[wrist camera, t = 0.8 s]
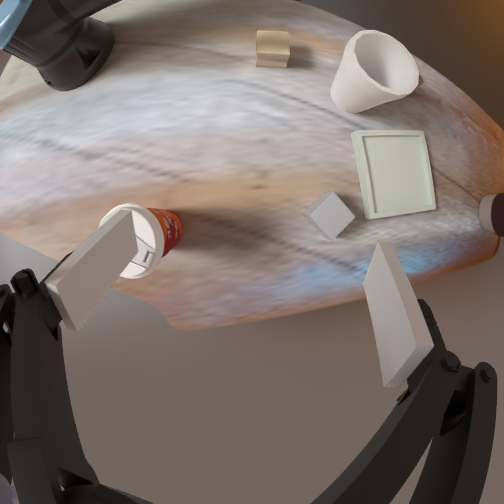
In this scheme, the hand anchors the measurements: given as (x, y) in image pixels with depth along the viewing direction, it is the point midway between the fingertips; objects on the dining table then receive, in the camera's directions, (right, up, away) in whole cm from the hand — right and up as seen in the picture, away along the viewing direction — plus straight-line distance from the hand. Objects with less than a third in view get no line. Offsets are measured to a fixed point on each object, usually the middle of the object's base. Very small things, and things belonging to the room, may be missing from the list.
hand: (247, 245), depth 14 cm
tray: (+22, +12, +23) cm, 35 cm away
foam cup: (+15, +24, +21) cm, 35 cm away
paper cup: (-12, +3, +24) cm, 28 cm away
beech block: (+3, +30, +20) cm, 36 cm away
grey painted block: (+11, +5, +25) cm, 27 cm away
